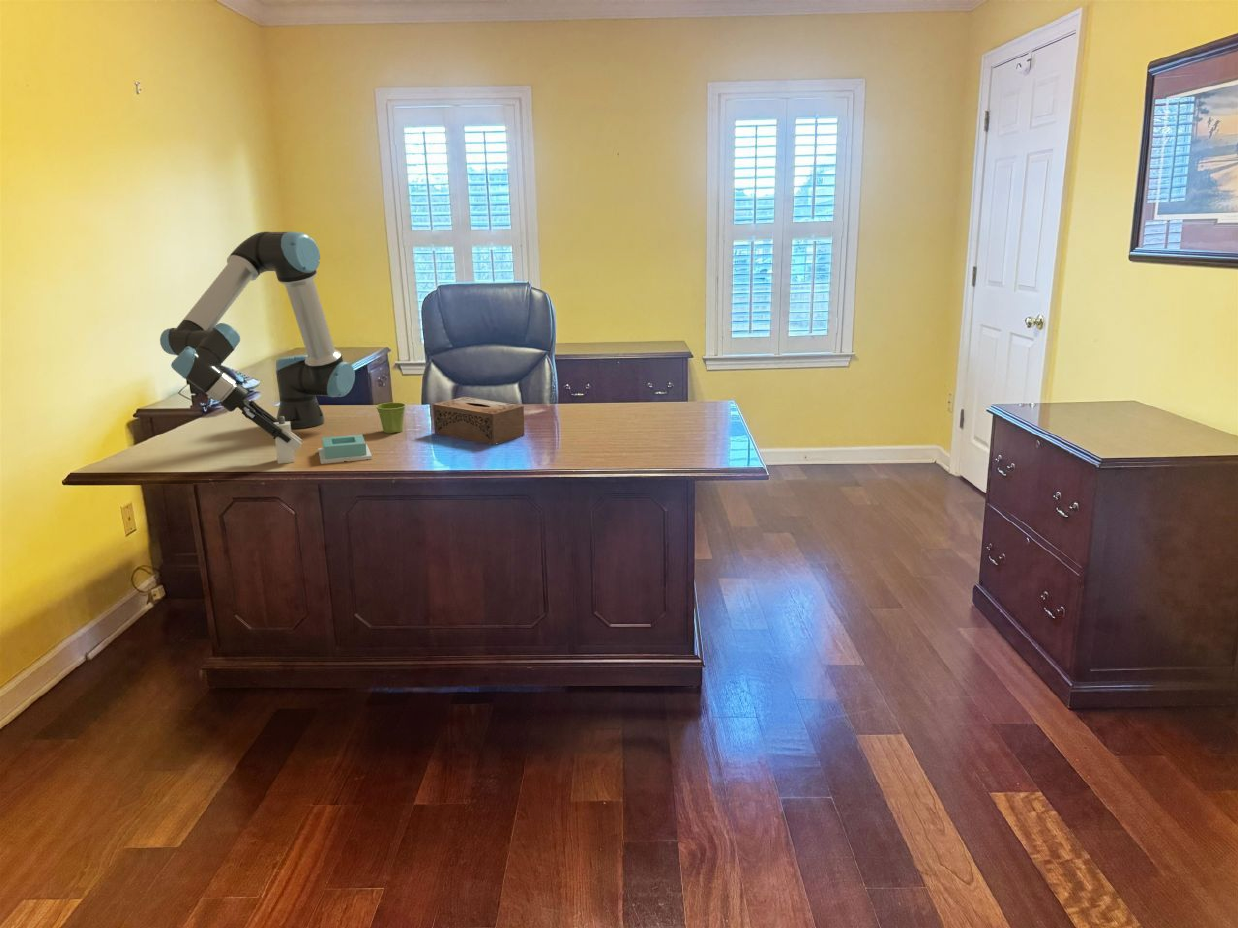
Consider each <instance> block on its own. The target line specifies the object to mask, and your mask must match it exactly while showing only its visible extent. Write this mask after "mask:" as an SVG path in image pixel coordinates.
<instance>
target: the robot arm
mask: <svg viewBox="0 0 1238 928" xmlns="http://www.w3.org/2000/svg"><path fill="white" fill-rule="evenodd" d="M320 260H321V253H320V249H319V247H318V245H317V243H316V241H315V240H314V239H313V238H312V237H311V236H310V235H308V234H306V233H304V232H297V231H291V230H290V231H260V232H256V233H254V234H252V235H250V236H249V237H248V238H245V240H243V241H242V242H241V243H240V244H239V245H237V246H236V248H234V249H233V251H232V252H231V253H230V254H229V256H228V257H227V258H226V265H225V266H224V268H223V269H222V270H221V272H220V273H219V274H218V275H217V277H216V278H215V279H214V280H213V282H212V283H211V284H210V286H209V287H208V288H207V289H206V291H204V292H203V294H202V295H201V297H200V298H199V299H198V300H197V302H196V303H195V304H194V305H193V307H192V308H191V309H190V311H188V313H187V314H186V316H184V318H183V319H182V320H181V322H180V323H179V324H178V325H177V326H176V327H171V328H167V329H165V330H163V331H162V332H161V334H160V337H159V345H160V346H161V348H162V350H163V351H164V353H167V354H169V355H173V356H176V357H175V359H174V360H173V361H172V362H171V363H170V366H171V368H172V370H173V371H175V372H176V374H178V375H180V376H181V377H182V379H185V380H186V381H188V382H189V383H191V384H192V385H194V386H195V388H198V390H201V391H202V392H203V393H204V394H206V395H207V399H209V400H211V399H213V400H214V401H215V402H216V403H219V402H220V405H221V406H222V407H223V408H224V409H226V410H227V411H228V412H233V411H235V410H236V409H237V408H238V409H239V410H241V414H242V415H243V416H244V417H245V418H246V419H248V420H250V421H251V422H252V423H254V424H255V425H257V426H258V427H259V428H261V429H262V430H264V431H265V432H266V433H268V434H269V435H270V436H271V437H272V439H273V440H275V439H276V437H277V438H278V439H280V440H281V441H282V442H284V443H285V444H286V445H288V446H289V447H290V448H292V449H293V452H294V451H295V452H297V451H298V450H299V449H300V447H302V445H303V443H302V439H301V438H300V437H299V436H298V435H296V434H295V433H294V432H292V431H291V434H292V436H291V435H290V434H288V433H287V432H286V431H284V430H282V429H281V428H279V427H278V426H277V425H275V424H274V423H275V422H279V420H278V417H279V416H284V419H285V422H288V421H290V425H291V429H306V428H311V427H317V426H320V425H323V424H324V423H325V415H324V413H323V410H322V409H321V406H320V404H319V402H318V399H317V396H321V397H329V398H338V397H339V398H341V397H345V396H346V395H348V394H349V393H350V392H351V391H352V388H353V386H354V384H355V378H356V374H355V372H356V371H355V369H354V366H353V365H352V364H351V363H350V362H348V361H344V359H343V358H344V357H343V355H342V353H341V351H340V350H338V349H336V348H335V346H334V343H333V339H332V336H331V333H330V329H329V326H328V323H327V319H326V316H325V313H324V308H323V305H322V303H321V299H320V296H319V293H318V290H317V287H316V283H315V277H316V275H318V271H317V269H318V268H319V266H320ZM266 272H275V275H276V278H277V281H278V282H279V283H280V284H282V285H285V289H286V292H287V294H288V298H289V301H290V304H291V305H290V306H291V308H292V311H293V314H294V316H295V317H294V318H295V320H296V323H297V326H298V329H299V332H300V336H301V340H302V342H303V345H304V349H305V351H306V354H297V355H289V356H285V357H281V358H278V359H277V360H276V362H275V368H276V369H275V373H276V381H277V387H278V389H277V390H278V394H279V395H278V396H279V406H278V410H277V415H276V417H274V416H273V415H271V413H269V412H268V411H266V410H265V409H264V408H262V407H261V406H259V404H258V403H256V402H255V401H254V400H249V399H248V398H247V396H248V395H249V393H250V392H249V390H248V389H247V388H246V387H244V386H243V385H242V384H240V383H237V380H235V379H234V378H233V377H231V376H230V375H228V374H227V372H224V371H223V370H222V369H221V368H220V366H222V364H223V363H224V362H225V361H226V360H227V358H228V357H229V356H230V355H231V354H232V353H233V351H234V352H235V350H236V349H235V348H236V347H237V346H238V345H239V343H240V341H241V336H240V334H239V333H238V331H237V330H236V329H235V328H234V327H232V325H230V324H227V323H224V322H220V320H221V319H222V318H223V317H224V315H225V314H226V312H227V311H228V310H229V309H230V307H231V306H232V305H233V304H234V303H235V301H236V300H237V299H238V297H239V296H240V294H241V293H242V292H243V291H244V290H245V288H246V287H247V285H248V284H250V282H251V281H255V280H257V278H258V277H259V276H261V274H263V273H266ZM219 322H220V323H219Z"/></svg>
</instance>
